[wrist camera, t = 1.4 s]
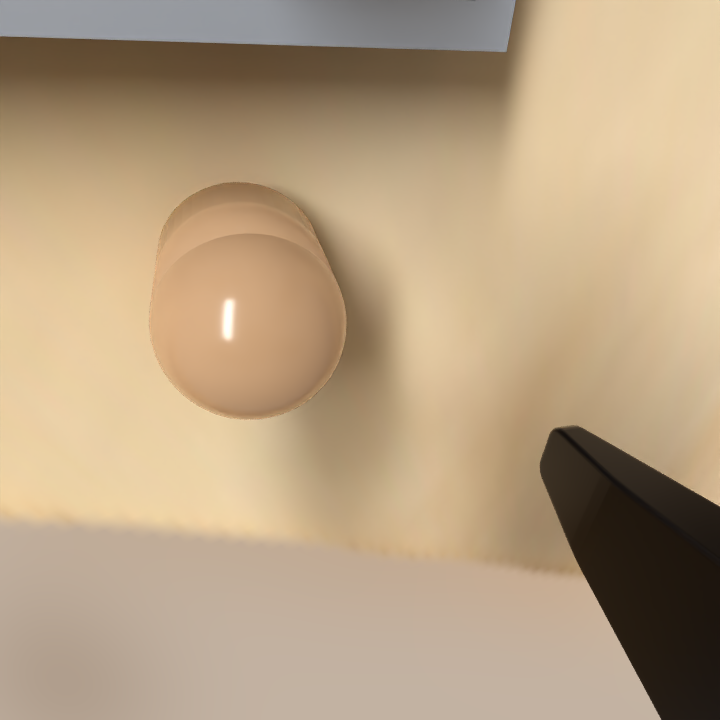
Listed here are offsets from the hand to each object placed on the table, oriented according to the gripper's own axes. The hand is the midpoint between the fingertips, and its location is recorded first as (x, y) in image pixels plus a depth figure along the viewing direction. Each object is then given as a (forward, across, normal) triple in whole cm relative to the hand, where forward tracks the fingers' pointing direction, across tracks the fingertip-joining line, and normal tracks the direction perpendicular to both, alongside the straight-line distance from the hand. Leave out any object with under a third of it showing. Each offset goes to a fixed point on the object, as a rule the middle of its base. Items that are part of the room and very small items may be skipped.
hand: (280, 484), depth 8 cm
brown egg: (+9, 0, 0) cm, 9 cm away
